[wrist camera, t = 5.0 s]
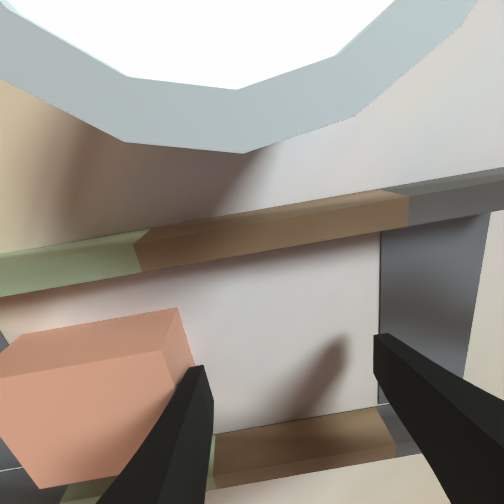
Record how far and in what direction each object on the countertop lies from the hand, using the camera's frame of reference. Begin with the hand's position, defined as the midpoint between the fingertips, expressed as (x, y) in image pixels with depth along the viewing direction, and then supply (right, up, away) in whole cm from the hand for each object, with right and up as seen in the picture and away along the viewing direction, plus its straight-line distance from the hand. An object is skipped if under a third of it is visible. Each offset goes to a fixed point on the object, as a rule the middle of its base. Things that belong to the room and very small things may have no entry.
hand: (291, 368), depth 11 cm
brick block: (-8, -1, +2) cm, 8 cm away
